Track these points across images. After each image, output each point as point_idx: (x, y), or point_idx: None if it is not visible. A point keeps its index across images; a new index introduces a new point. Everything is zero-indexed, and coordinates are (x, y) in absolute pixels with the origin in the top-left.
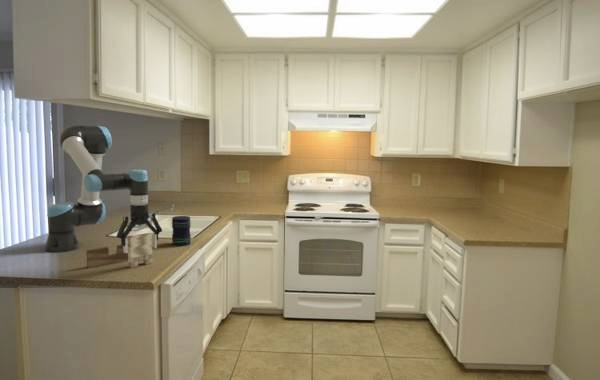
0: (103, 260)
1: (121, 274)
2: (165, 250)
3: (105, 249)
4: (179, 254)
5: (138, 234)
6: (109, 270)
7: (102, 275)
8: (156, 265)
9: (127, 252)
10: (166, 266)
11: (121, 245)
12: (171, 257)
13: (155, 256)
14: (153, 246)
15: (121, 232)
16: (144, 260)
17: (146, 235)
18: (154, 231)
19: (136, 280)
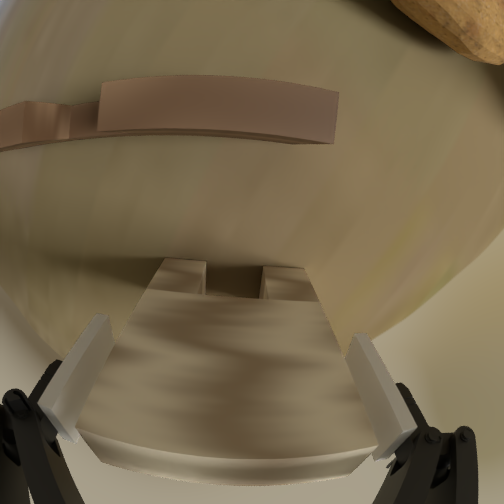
0: (55, 141)
1: None
2: (483, 135)
3: (15, 145)
4: (470, 254)
5: (226, 459)
6: (70, 252)
7: (43, 294)
8: None
9: None
10: None
11: (130, 128)
12: (425, 273)
13: (400, 188)
14: (351, 353)
15: (12, 472)
16: (262, 293)
17: (284, 479)
18: (381, 486)
19: None
